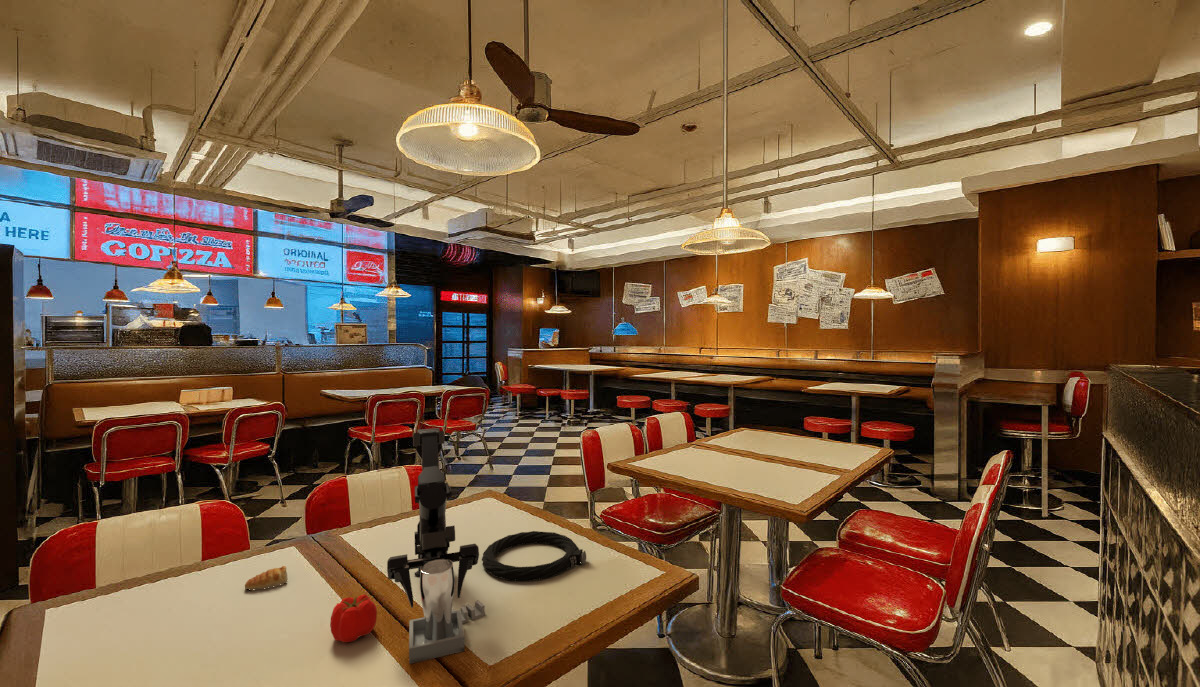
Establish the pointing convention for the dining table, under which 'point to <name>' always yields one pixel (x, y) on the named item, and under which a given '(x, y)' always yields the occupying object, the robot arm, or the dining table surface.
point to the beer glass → (437, 598)
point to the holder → (435, 648)
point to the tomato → (353, 618)
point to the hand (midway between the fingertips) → (435, 602)
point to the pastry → (268, 579)
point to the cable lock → (532, 572)
